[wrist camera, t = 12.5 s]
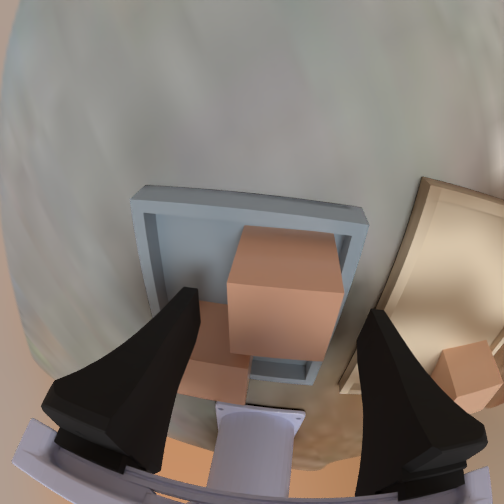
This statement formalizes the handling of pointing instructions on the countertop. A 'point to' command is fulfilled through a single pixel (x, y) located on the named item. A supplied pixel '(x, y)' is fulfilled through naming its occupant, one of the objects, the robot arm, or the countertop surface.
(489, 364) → the chunk
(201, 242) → the slate dish
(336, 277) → the chunk
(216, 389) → the chunk
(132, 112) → the countertop surface
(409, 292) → the birch tray
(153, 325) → the robot arm
